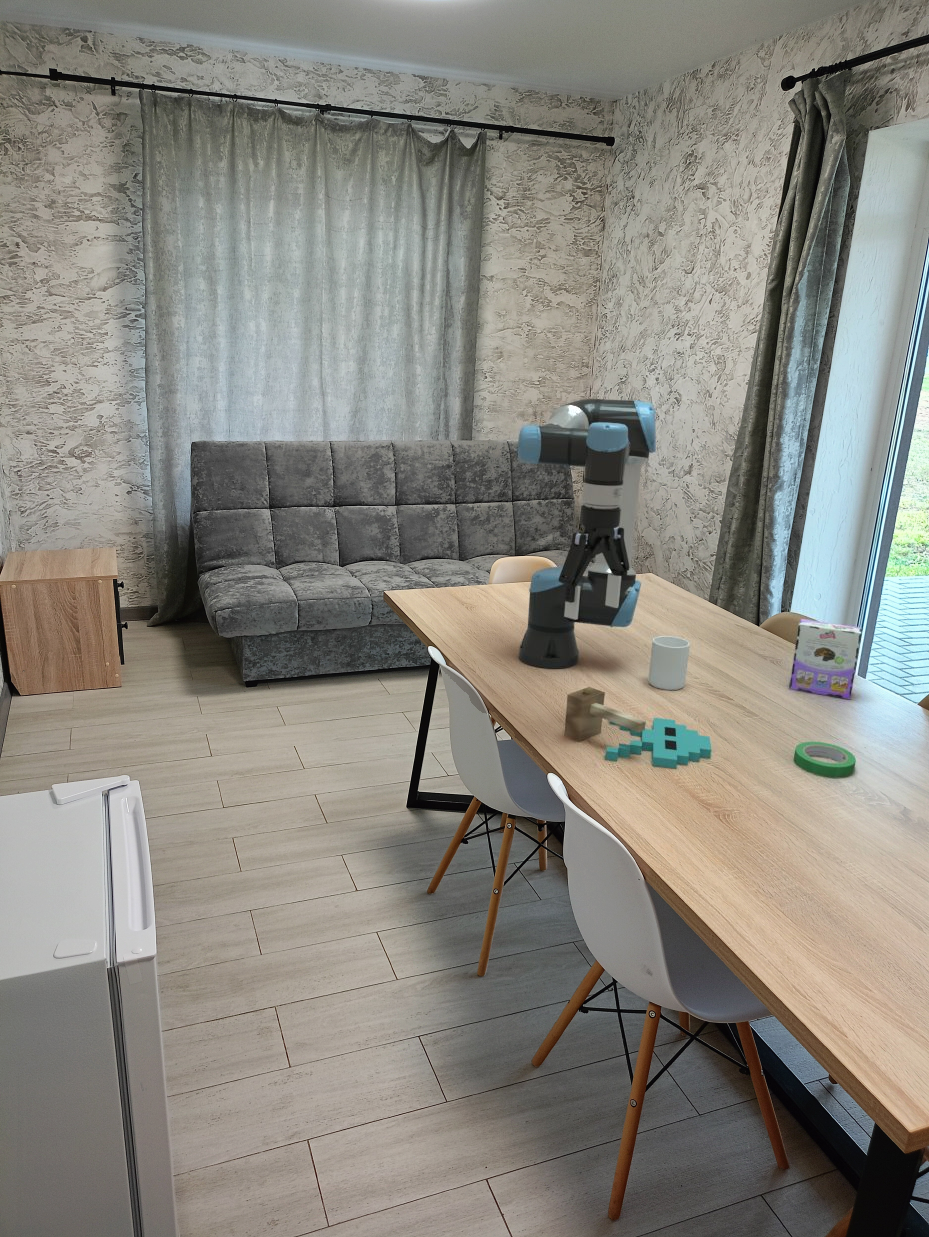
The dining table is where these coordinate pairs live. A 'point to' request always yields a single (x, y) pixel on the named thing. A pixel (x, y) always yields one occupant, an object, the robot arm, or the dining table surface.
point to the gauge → (593, 715)
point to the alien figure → (665, 744)
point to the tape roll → (824, 768)
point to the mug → (668, 662)
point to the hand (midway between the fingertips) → (591, 612)
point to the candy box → (825, 658)
